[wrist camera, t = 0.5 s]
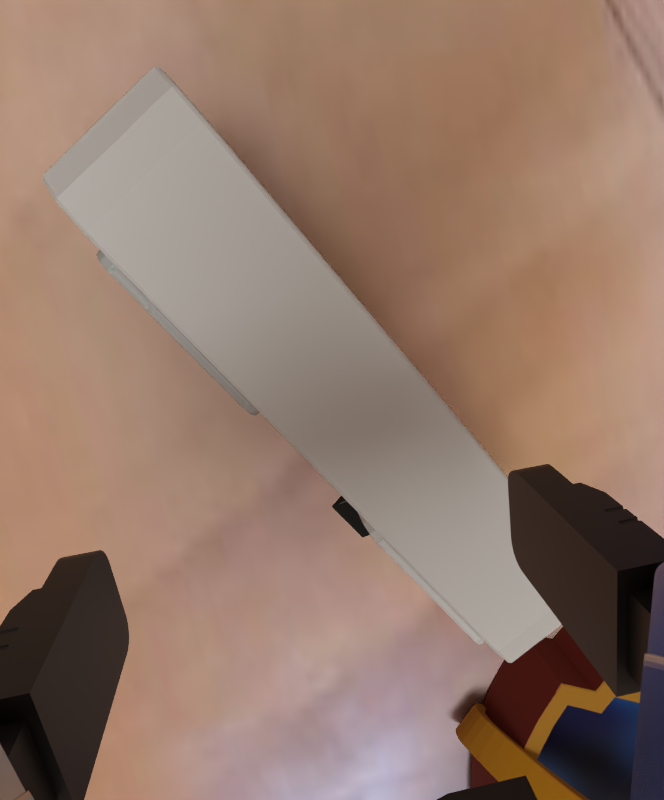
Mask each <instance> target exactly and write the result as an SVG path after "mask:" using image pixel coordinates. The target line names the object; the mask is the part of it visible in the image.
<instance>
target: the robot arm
mask: <svg viewBox="0 0 664 800" xmlns="http://www.w3.org/2000/svg"><path fill="white" fill-rule="evenodd" d="M508 495H509V512H510V529H511V542H512V548H513V552H514V555H515V558H516V561H517V563H518V565H519V567H520V569H521V571H522V572H523V573H524V575H525V576H526V577H527V579H528V580H529V581H530V583H531V584H532V585H533V587H534V588H535V589H536V591H537V592H538V593H539V595H540V596H541V597H542V599H543V600H544V601H545V603H546V604H547V605H548V607H549V608H550V609H551V611H552V612H553V613H554V615H555V616H556V617H557V619H558V620H559V621H560V623H561V624H562V625H563V627H564V628H565V629H566V631H567V632H568V633H569V635H570V636H571V637H572V639H573V640H574V641H575V643H576V644H577V645H578V647H579V648H580V649H581V651H582V652H583V653H584V655H585V656H586V657H587V659H588V660H589V661H590V663H591V664H592V665H593V667H594V668H595V669H596V671H597V672H598V673H599V674H600V676H601V677H602V678H603V680H604V681H605V682H606V684H607V685H608V686H609V688H610V689H611V690H612V692H613V693H614V694H615V696H616V697H619V696H624V695H628V694H632V693H637V692H641V693H640V703H639V713H638V723H637V733H636V743H635V753H634V763H633V773H632V783H631V793H630V800H664V538H662V537H661V536H660V535H659V534H657V533H656V532H655V531H653V530H652V529H651V528H650V527H648V526H647V525H646V524H645V523H643V522H642V521H638V520H637V517H636V516H634V515H633V514H632V513H631V512H629V511H628V510H627V509H623V506H622V505H621V504H619V503H618V502H617V501H615V500H614V499H613V498H612V497H610V496H609V495H608V494H607V493H605V492H603V491H600V490H598V489H595V488H593V487H590V486H588V485H585V484H582V483H576V484H572V483H571V482H570V481H569V480H568V479H566V478H565V477H564V476H563V475H562V474H560V473H559V472H558V471H557V470H556V469H554V468H553V467H552V466H551V465H549V464H545V465H540V466H535V467H530V468H524V469H519V470H514V471H511V472H510V473H509V476H508ZM128 644H129V630H128V623H127V618H126V614H125V611H124V608H123V605H122V602H121V598H120V595H119V592H118V589H117V586H116V582H115V579H114V576H113V573H112V570H111V566H110V563H109V560H108V558H107V556H106V554H105V553H104V552H103V551H101V550H99V551H94V552H89V553H83V554H78V555H73V556H68V557H63V558H60V559H59V560H58V561H57V562H56V564H55V566H54V568H53V569H52V571H51V573H50V574H49V576H48V578H47V580H46V581H45V583H44V585H43V587H42V588H41V589H36V590H32V591H31V592H30V593H29V594H28V595H27V596H26V597H25V598H23V599H22V600H21V601H20V602H19V603H18V604H17V605H16V606H14V607H13V608H12V609H11V610H10V611H9V613H8V615H7V616H6V618H5V619H4V621H3V623H2V624H1V626H0V800H84V798H85V794H86V791H87V788H88V784H89V781H90V777H91V774H92V771H93V767H94V764H95V760H96V757H97V754H98V750H99V747H100V743H101V740H102V737H103V733H104V730H105V726H106V723H107V720H108V716H109V713H110V709H111V706H112V703H113V699H114V696H115V692H116V689H117V686H118V682H119V679H120V675H121V672H122V669H123V665H124V662H125V658H126V655H127V651H128ZM437 800H537V798H536V795H535V793H534V791H533V789H532V787H531V785H530V783H529V781H528V779H527V777H526V775H525V776H521V777H517V778H513V779H508V780H504V781H500V782H496V783H491V784H487V785H483V786H478V787H474V788H470V789H466V790H461V791H457V792H453V793H449V794H446V795H445V796H443V797H441V798H439V799H437Z"/></svg>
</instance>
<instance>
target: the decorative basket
mask: <svg viewBox="0 0 664 800" xmlns="http://www.w3.org/2000/svg"><path fill="white" fill-rule="evenodd" d="M640 693H641V692H637V693H632V694H628V695H624V696H619V697H616V696H615V694H614V693H613V692H612V690H611V689H610V688H609V686H608V685H607V684H606V682H605V681H604V680H603V678H602V677H601V676H600V674H599V673H598V672H597V671H596V669H595V668H594V667H593V665H592V664H591V663H590V661H589V660H588V659H587V657H586V656H585V655H584V653H583V652H582V651H581V649H580V648H579V647H578V645H577V644H576V643H575V641H574V640H573V639H572V637H571V636H570V635H569V633H568V632H567V631H566V629H565V628H564V627H563V628H562V629H561V630H560V631H559V633H558V634H557V635H556V636H555V638H554V639H553V640H552V639H548V638H543V639H542V640H541V641H539V642H538V643H537V644H536V645H534V646H533V647H532V648H530V649H529V650H528V651H527V652H525V653H524V654H523V655H521V656H520V657H519V658H518V659H516V660H515V661H514V662H512V663H508V662H507V661H506V660H504V662H503V664H502V666H501V667H500V669H499V671H498V673H497V675H496V677H495V679H494V681H493V683H492V686H491V688H490V690H489V692H488V695H487V697H486V699H485V702H484V704H479V703H476V704H475V705H474V706H473V707H472V708H471V710H470V711H469V712H468V714H467V715H466V716H465V718H464V719H463V720H462V722H461V723H460V724H459V725H458V727H457V728H456V734H457V736H458V738H459V740H460V741H461V742H462V743H463V745H464V746H465V747H466V748H467V749H468V750H469V751H470V753H471V754H472V769H471V788H474V787H478V786H483V785H487V784H491V783H496V782H500V781H504V780H508V779H513V778H517V777H521V776H525V775H526V777H527V779H528V781H529V783H530V785H531V787H532V789H533V791H534V793H535V795H536V798H537V800H630V793H631V783H632V773H633V763H634V753H635V743H636V733H637V723H638V713H639V703H640Z"/></svg>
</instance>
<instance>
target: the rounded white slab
mask: <svg viewBox="0 0 664 800" xmlns="http://www.w3.org/2000/svg"><path fill="white" fill-rule="evenodd" d="M43 181H44V183H45V184H46V186H47V188H48V189H49V191H50V193H51V194H52V196H53V198H54V199H55V201H56V202H57V204H58V205H59V206H60V207H61V208H62V209H63V210H64V211H65V213H66V214H67V215H68V216H69V217H70V218H71V219H72V221H73V222H74V223H75V224H76V225H77V226H78V227H79V228H80V230H81V231H82V232H83V233H84V234H85V235H86V236H87V237H88V238H89V239H90V240H91V241H92V242H93V243H94V244H95V245H96V246H97V247H98V249H99V250H100V251H99V252H98V253H97V256H98V259H99V262H100V263H101V264H102V265H103V267H104V268H105V269H106V270H107V271H108V272H109V273H110V274H111V275H112V276H113V277H114V278H115V279H116V280H117V281H118V282H119V283H120V284H121V285H122V286H123V287H124V288H125V289H126V290H127V291H128V292H129V293H130V294H131V295H132V296H133V297H134V298H135V299H136V300H137V302H138V303H139V304H140V305H141V306H142V307H143V308H144V309H145V310H146V311H147V312H148V313H149V314H150V315H151V316H152V317H153V318H154V319H155V320H156V321H157V322H158V323H159V324H160V325H161V326H162V327H163V328H164V329H165V330H166V331H167V332H168V333H169V334H170V335H171V336H172V337H173V338H174V339H175V340H176V341H177V342H178V343H179V344H180V345H181V346H182V347H183V348H184V349H185V350H186V351H187V352H188V353H189V354H190V355H191V356H192V357H193V358H194V359H195V360H196V361H197V362H198V363H199V364H200V365H201V366H202V367H203V368H204V369H205V370H206V371H207V372H208V373H209V374H210V375H211V376H212V377H213V378H214V379H215V380H216V381H217V382H218V383H219V384H220V385H221V386H222V387H223V388H224V389H225V390H226V391H227V392H228V393H229V394H230V395H231V396H232V397H233V398H234V399H235V400H236V401H237V402H238V403H239V404H240V405H241V406H242V407H243V408H244V409H245V410H246V411H247V412H249V413H250V414H252V415H257V414H258V413H259V412H260V413H261V414H262V415H263V416H264V417H265V418H266V419H267V420H268V421H269V422H270V423H271V424H272V425H273V426H274V427H275V428H276V430H277V431H278V432H279V433H280V434H281V435H282V436H283V437H284V438H285V439H286V440H287V441H288V442H289V443H290V444H291V445H292V446H293V447H294V448H295V449H296V450H297V451H298V452H299V453H300V454H301V455H302V456H303V457H304V458H305V459H306V460H307V461H308V462H309V463H310V464H311V465H312V466H313V467H314V468H315V469H316V470H317V471H318V472H319V473H320V474H321V475H322V476H323V477H324V478H325V479H326V480H327V481H328V482H329V483H330V484H331V485H332V486H333V487H334V488H335V490H336V491H337V492H338V493H339V494H340V495H341V497H340V498H339V499H338V500H337V501H336V503H335V504H334V505H333V506H332V507H333V508H334V509H335V510H336V511H337V512H338V513H339V514H340V515H341V516H342V517H343V518H344V519H345V520H346V521H347V522H348V523H349V524H350V525H351V526H352V527H353V528H354V529H355V530H356V531H357V532H358V533H359V534H360V535H361V536H362V537H365V536H368V535H371V536H372V538H373V539H374V540H375V541H376V542H377V543H378V545H379V546H380V547H381V548H382V549H383V550H384V551H385V552H386V553H387V554H388V555H389V556H390V557H391V558H392V559H393V560H394V561H395V562H396V563H397V564H398V565H399V566H400V567H401V568H402V569H403V570H404V571H405V572H406V573H407V574H408V575H409V576H410V577H411V578H412V579H413V580H414V581H415V582H416V583H417V584H418V585H419V586H420V587H421V588H422V589H423V590H424V591H425V592H426V593H427V594H428V595H429V596H430V597H431V598H432V599H433V600H434V601H435V602H436V603H437V604H438V605H439V606H440V607H441V608H442V609H443V610H444V611H445V612H446V613H447V614H448V615H449V616H450V617H451V618H452V619H453V620H454V621H455V622H456V623H457V624H458V625H459V626H460V627H461V628H462V629H463V630H464V631H465V632H466V633H467V634H468V635H469V636H470V637H471V638H472V639H473V640H474V641H475V642H476V643H477V644H479V645H481V644H482V643H483V642H486V643H487V644H488V645H489V646H490V647H491V648H492V649H493V650H494V651H495V652H496V653H497V654H498V655H500V656H501V657H502V658H503V659H504V660H506V661H507V662H508V663H512V662H514V661H515V660H516V659H518V658H519V657H520V656H521V655H523V654H524V653H525V652H527V651H528V650H529V649H530V648H532V647H533V646H534V645H536V644H537V643H538V642H539V641H541V640H542V639H543V638H545V637H546V636H547V635H548V634H550V633H551V632H552V631H554V630H555V629H556V628H558V627H559V626H560V625H561V623H560V621H559V620H558V619H557V617H556V616H555V615H554V613H553V612H552V611H551V609H550V608H549V607H548V605H547V604H546V603H545V601H544V600H543V599H542V597H541V596H540V595H539V593H538V592H537V591H536V589H535V588H534V587H533V585H532V584H531V583H530V581H529V580H528V579H527V577H526V576H525V575H524V573H523V572H522V571H521V569H520V567H519V565H518V563H517V561H516V558H515V555H514V552H513V548H512V542H511V529H510V512H509V495H508V477H507V476H506V475H505V473H504V472H503V471H502V470H501V469H500V467H499V466H498V465H497V464H496V463H495V461H494V460H493V459H492V458H491V457H490V455H489V454H488V453H487V452H486V451H485V450H484V448H483V447H482V446H481V445H480V444H479V442H478V441H477V440H476V439H475V438H474V436H473V435H472V434H471V433H470V432H469V431H468V429H467V428H466V427H465V426H464V425H463V423H462V422H461V421H460V420H459V419H458V417H457V416H456V415H455V414H454V413H453V412H452V410H451V409H450V408H449V407H448V406H447V404H446V403H445V402H444V401H443V400H442V398H441V397H440V396H439V395H438V394H437V392H436V391H435V390H434V389H433V388H432V387H431V385H430V384H429V383H428V382H427V381H426V379H425V378H424V377H423V376H422V375H421V373H420V372H419V371H418V370H417V369H416V368H415V366H414V365H413V364H412V363H411V362H410V360H409V359H408V358H407V357H406V356H405V354H404V353H403V352H402V351H401V350H400V349H399V347H398V346H397V345H396V344H395V343H394V341H393V340H392V339H391V338H390V337H389V335H388V334H387V333H386V332H385V331H384V329H383V328H382V327H381V326H380V325H379V324H378V322H377V321H376V320H375V319H374V318H373V316H372V315H371V314H370V313H369V312H368V310H367V309H366V308H365V307H364V306H363V305H362V303H361V302H360V301H359V300H358V299H357V297H356V296H355V295H354V294H353V293H352V291H351V290H350V289H349V288H348V287H347V286H346V284H345V283H344V282H343V281H342V280H341V278H340V277H339V276H338V275H337V274H336V272H335V271H334V270H333V269H332V268H331V266H330V265H329V264H328V263H327V262H326V261H325V259H324V258H323V257H322V256H321V255H320V253H319V252H318V251H317V250H316V249H315V247H314V246H313V245H312V244H311V243H310V242H309V240H308V239H307V238H306V237H305V236H304V234H303V233H302V232H301V231H300V230H299V228H298V227H297V226H296V225H295V224H294V223H293V221H292V220H291V219H290V218H289V217H288V215H287V214H286V213H285V212H284V211H283V209H282V208H281V207H280V206H279V205H278V203H277V202H276V201H275V200H274V199H273V198H272V196H271V195H270V194H269V193H268V192H267V190H266V189H265V188H264V187H263V186H262V184H261V183H260V182H259V181H258V180H257V179H256V177H255V176H254V175H253V174H252V173H251V171H250V170H249V169H248V168H247V167H246V165H245V164H244V163H243V162H242V161H241V160H240V158H239V157H238V156H237V155H236V154H235V152H234V151H233V150H232V149H231V148H230V146H229V145H228V144H227V143H226V142H225V140H224V139H223V138H222V137H221V136H220V135H219V133H218V132H217V131H216V130H215V129H214V127H213V126H212V125H211V124H210V123H209V121H208V120H207V119H206V118H205V117H204V116H203V114H202V113H201V112H200V111H199V110H198V109H197V108H196V106H195V105H194V104H193V103H192V102H191V101H190V99H189V98H188V97H187V96H186V95H185V94H184V92H183V91H182V90H181V89H180V88H179V87H178V86H177V85H176V84H175V83H174V81H173V80H172V79H171V78H170V77H169V76H168V75H167V74H166V73H165V72H164V71H163V70H162V69H160V68H159V67H153V68H151V69H150V70H149V71H148V72H147V73H146V74H145V75H144V76H143V77H142V78H141V79H140V80H139V81H138V82H137V83H136V84H135V85H134V86H133V87H132V88H131V89H130V90H129V91H128V92H127V93H126V94H125V95H124V96H123V97H122V98H121V99H120V100H119V101H118V102H117V103H116V104H115V105H114V106H113V107H112V108H111V109H110V110H109V111H108V112H107V113H106V114H105V115H104V116H102V117H101V118H100V119H99V120H98V121H97V122H96V123H95V124H94V125H93V126H92V127H91V128H90V129H89V130H88V131H87V132H86V133H85V134H84V135H83V136H82V137H81V138H80V139H79V140H78V141H77V142H76V143H75V144H74V145H73V146H72V147H71V148H70V149H69V150H68V151H67V152H66V153H65V154H64V155H63V156H62V157H61V158H60V159H59V160H58V161H57V162H56V163H55V164H54V165H53V166H51V167H50V168H49V169H48V170H47V172H46V173H45V174H44V175H43Z"/></svg>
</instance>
